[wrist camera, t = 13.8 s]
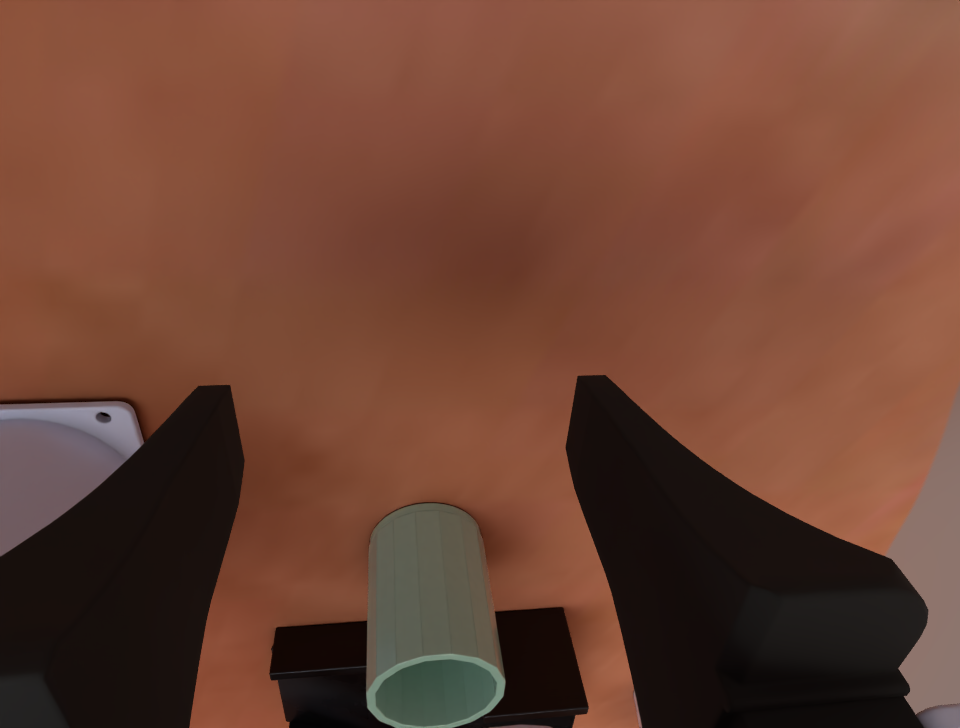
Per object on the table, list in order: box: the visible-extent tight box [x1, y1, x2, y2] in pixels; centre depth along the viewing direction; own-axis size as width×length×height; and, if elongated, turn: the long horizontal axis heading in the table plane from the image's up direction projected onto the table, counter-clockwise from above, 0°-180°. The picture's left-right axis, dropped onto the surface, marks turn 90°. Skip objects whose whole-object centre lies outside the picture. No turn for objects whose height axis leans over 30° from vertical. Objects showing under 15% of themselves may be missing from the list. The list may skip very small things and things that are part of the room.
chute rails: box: [269, 608, 589, 728], centre depth 35 cm, size 15×8×6 cm, turn 87°
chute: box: [271, 644, 575, 728], centre depth 36 cm, size 15×7×5 cm, turn 87°
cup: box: [366, 503, 506, 728], centre depth 29 cm, size 5×5×8 cm
